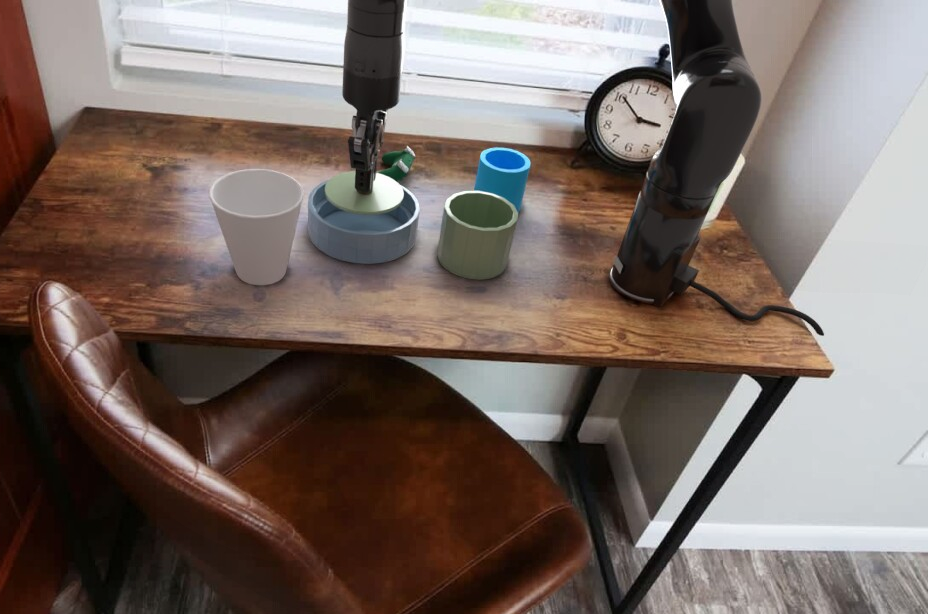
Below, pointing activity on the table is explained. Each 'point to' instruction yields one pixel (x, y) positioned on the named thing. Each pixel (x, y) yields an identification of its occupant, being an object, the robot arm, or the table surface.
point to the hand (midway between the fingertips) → (365, 184)
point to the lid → (364, 194)
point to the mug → (503, 174)
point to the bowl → (362, 229)
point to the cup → (258, 221)
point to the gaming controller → (398, 163)
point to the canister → (476, 234)
